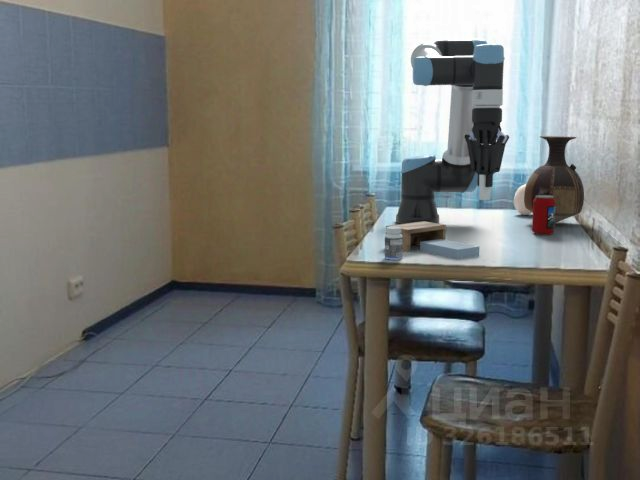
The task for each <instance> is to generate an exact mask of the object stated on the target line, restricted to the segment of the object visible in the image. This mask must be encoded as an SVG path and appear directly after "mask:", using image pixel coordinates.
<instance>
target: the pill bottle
mask: <svg viewBox="0 0 640 480" xmlns="http://www.w3.org/2000/svg"><path fill="white" fill-rule="evenodd" d="M389 226H390V227H386V226H385V234H384V258H386V259H385V260H388V259H390V260H389V261H400V260H402V259H403V251H402V246H403V236H402V235H401V234H400V233H401V227H396V226H391V225H389ZM386 233H387V234H386ZM399 259H400V260H399Z"/></svg>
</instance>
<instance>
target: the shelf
mask: <svg viewBox="0 0 640 480" xmlns="http://www.w3.org/2000/svg"><path fill="white" fill-rule="evenodd" d="M390 226H396V227H401V233H400V234H401V235H402V236H403V246H402V250H403V251H402V252H406V251H407V252H406V253H410V252H411V245H416V244H419V245H420V242H423V241H430V240H437V239H444V240H447V239H446V234H447V229H446V228H447V225H446V224H444V223H432V222H425V221H421V222H414V223H406V224H400V223H397V224H392V225H386V226H385V228H386V227H390ZM386 234H387V233H386V232H385V235H386ZM410 244H411V245H410Z"/></svg>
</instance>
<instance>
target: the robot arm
mask: <svg viewBox="0 0 640 480" xmlns="http://www.w3.org/2000/svg"><path fill="white" fill-rule="evenodd" d="M504 50H505V49H504V46H503V45H502V44H499V43H497V44H496V43H493V44H490V43H489V44H488V42H487V40H485V39H484V38H473V37H471V38H438V39H437V38H436V39H432V40H431V39H430V40H427V41H424V42H423V43H421V44H419V45H418V46H417V47H415V49H414V50H413V51H412V53H411V56H410V64H411V67H412V83H413V84H414V85H416V86H425V87H427V86H451V91H450V93H451V94H450V106H449V107H450V108H449V119H448V120H449V122H448V138H447V140H448V141H447V149H446V150H445V151H444V152H443V153H442V158H437V156H436V155H435V154H423V155H415V156H411V157H410V156H409V157H406V158H404V159H403V160H402V161H401V169H400V170H401V171H400V174H401V181H400V182H401V183H400V184H401V185H400V188H401V189H400V203H399V206H398V209H397V213H396V215H395V222H396V223H397V224H406V223H414V222H421V221H425V222H432V223H438V224H440V215H439V214H438V209H437V204H436V201H435V200H436V199H435V193H461V194H464V193H472V192H473V193H474V191H476V190H477V188H478V200H479V201H486V200H487V201H488V200H489V201H490V200H491V191H492V190H491V188H492V187H493V184H494V183H493V181H494V177H493V175H494V174H495V173H499V172H500V170H501V167H502V161H503V158H504V154H505V148H506V145H507V143H508V141H509V139H510V136H509V135H508V134H504V132H502V128H501V123H502V121H503V109H502V107H501V106H503V104H504V102H503V101H504V99H503V98H504V97H503V94H504V89H503V88H504V87H503V86H504V84H503V83H504V66H505V65H504V64H505V63H504V62H505V51H504Z"/></svg>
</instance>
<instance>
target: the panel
mask: <svg viewBox="0 0 640 480" xmlns="http://www.w3.org/2000/svg"><path fill="white" fill-rule="evenodd" d="M419 251H420V252H423V251H425V252H424V253H427V254H428V253H429V254H432V253H433V255H437V254H438V256H441V255H442V257H446V258H450V257H451V259H455V260H460V259H461V258H462V259H467V258H473V257H479V256H480V246H479V245H474V244H468V243H463V242H458V241H453V240H449V239H445V240H444V239H437V240H430V241H423V242H420V244H419ZM462 259H461V260H462Z"/></svg>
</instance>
